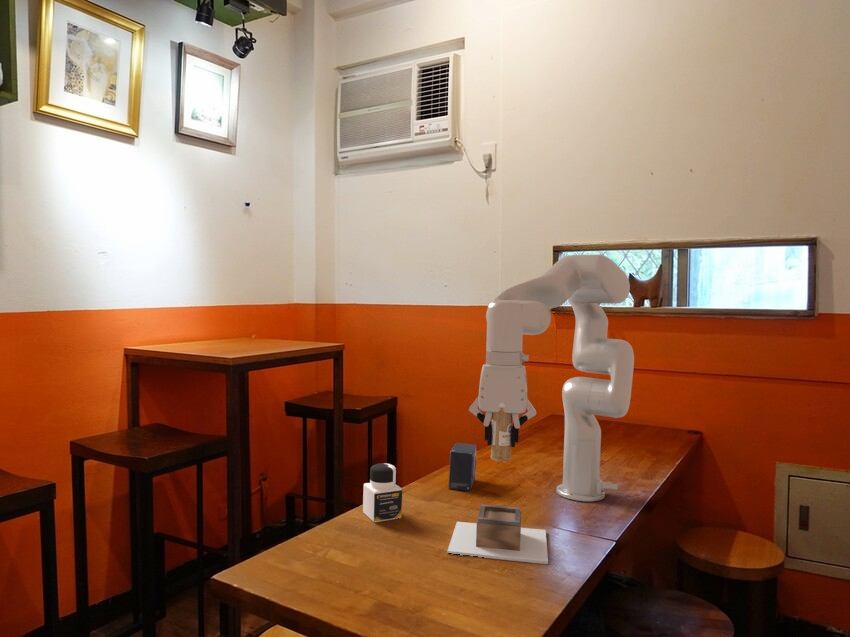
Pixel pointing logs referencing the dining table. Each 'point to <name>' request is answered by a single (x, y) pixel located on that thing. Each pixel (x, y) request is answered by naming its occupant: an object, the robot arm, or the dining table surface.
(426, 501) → the dining table surface
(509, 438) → the sprinkles bottle
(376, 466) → the medicine bottle
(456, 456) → the small box
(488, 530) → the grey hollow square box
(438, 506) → the dining table surface
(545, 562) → the white rectangular board
